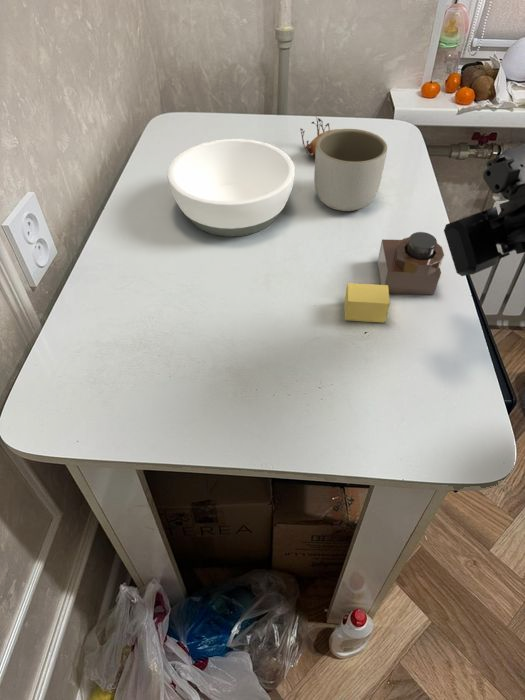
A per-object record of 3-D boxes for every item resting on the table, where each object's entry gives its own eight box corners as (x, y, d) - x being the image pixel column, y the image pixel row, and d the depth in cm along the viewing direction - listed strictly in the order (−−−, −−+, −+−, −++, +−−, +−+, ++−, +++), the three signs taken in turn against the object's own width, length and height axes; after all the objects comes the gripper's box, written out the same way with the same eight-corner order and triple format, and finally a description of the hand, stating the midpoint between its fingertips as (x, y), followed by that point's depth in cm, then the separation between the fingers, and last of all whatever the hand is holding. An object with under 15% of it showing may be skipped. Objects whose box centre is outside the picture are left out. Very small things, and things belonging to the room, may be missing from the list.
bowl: (220, 167, 105) (216, 127, 98) (314, 198, 97) (317, 157, 90) (148, 221, 92) (140, 179, 86) (250, 262, 84) (249, 219, 78)
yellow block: (383, 304, 77) (388, 284, 74) (385, 322, 75) (390, 303, 72) (344, 302, 78) (347, 282, 75) (344, 320, 75) (347, 301, 72)
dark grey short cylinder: (435, 261, 75) (439, 248, 73) (408, 260, 75) (411, 248, 73) (430, 244, 77) (434, 232, 75) (404, 244, 77) (407, 231, 76)
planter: (356, 176, 102) (363, 123, 93) (389, 208, 94) (401, 153, 86) (301, 190, 98) (304, 136, 90) (331, 224, 91) (337, 169, 83)
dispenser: (436, 298, 78) (447, 265, 73) (383, 296, 78) (391, 264, 74) (426, 262, 84) (436, 229, 79) (377, 261, 84) (384, 228, 79)
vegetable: (370, 122, 111) (380, 90, 101) (379, 167, 108) (390, 138, 98) (299, 131, 110) (302, 99, 100) (306, 176, 108) (310, 148, 98)
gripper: (614, 113, 54) (500, 163, 68) (484, 156, 48) (391, 200, 63) (639, 214, 55) (522, 241, 70) (516, 267, 49) (418, 284, 64)
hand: (466, 240), depth 67 cm, fingers closed
